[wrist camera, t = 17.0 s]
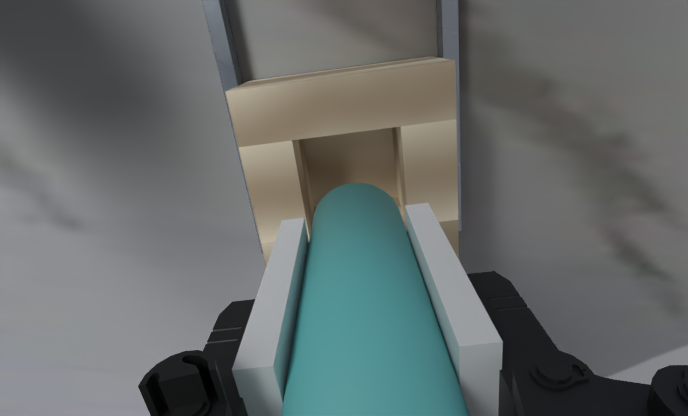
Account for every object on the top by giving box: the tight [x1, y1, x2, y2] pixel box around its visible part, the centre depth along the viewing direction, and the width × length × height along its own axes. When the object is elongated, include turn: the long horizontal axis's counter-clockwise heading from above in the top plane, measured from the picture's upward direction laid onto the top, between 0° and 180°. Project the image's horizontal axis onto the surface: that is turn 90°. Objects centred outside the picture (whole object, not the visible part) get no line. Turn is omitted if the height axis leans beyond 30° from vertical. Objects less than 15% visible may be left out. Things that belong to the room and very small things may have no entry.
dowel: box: [281, 183, 470, 416], centre depth 10 cm, size 3×3×12 cm
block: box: [225, 56, 459, 266], centre depth 21 cm, size 10×10×5 cm
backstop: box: [202, 0, 462, 254], centre depth 18 cm, size 23×12×8 cm, turn 7°
